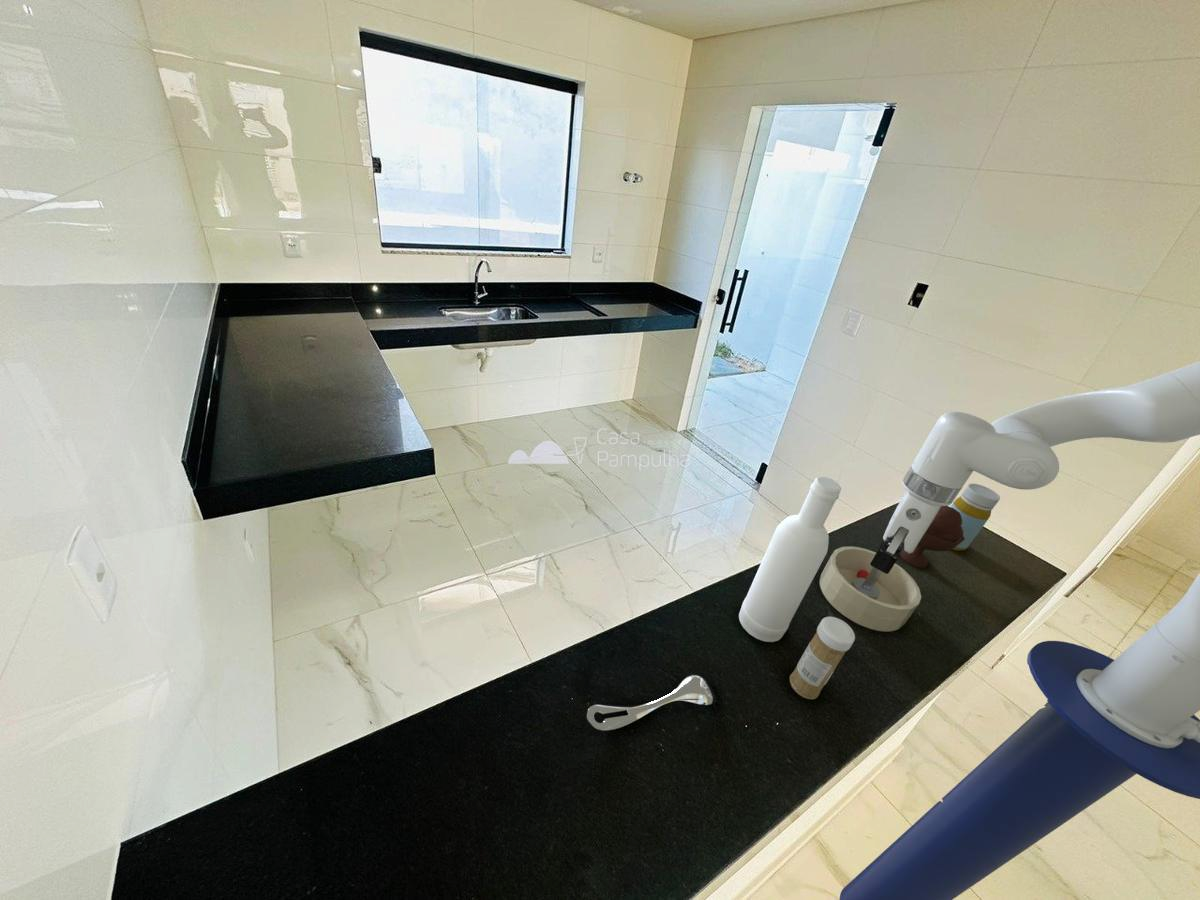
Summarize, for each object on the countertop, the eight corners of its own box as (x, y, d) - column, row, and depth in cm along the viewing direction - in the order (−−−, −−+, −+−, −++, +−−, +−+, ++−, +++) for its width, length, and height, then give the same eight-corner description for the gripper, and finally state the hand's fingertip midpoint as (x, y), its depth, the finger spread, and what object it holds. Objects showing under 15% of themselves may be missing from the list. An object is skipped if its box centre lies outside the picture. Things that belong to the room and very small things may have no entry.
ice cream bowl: (948, 566, 102) (987, 513, 95) (926, 583, 96) (966, 528, 88) (901, 536, 109) (933, 485, 102) (878, 550, 103) (910, 497, 96)
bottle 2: (967, 543, 111) (1004, 493, 103) (963, 556, 106) (1001, 505, 98) (935, 528, 114) (968, 478, 107) (929, 540, 110) (963, 489, 102)
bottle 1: (756, 648, 76) (828, 503, 61) (729, 610, 82) (788, 470, 67) (793, 637, 79) (870, 496, 64) (764, 601, 85) (828, 465, 70)
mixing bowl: (912, 601, 91) (928, 579, 88) (894, 647, 80) (911, 624, 77) (833, 557, 99) (845, 535, 96) (807, 593, 88) (819, 571, 85)
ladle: (877, 594, 90) (909, 544, 83) (873, 608, 86) (906, 557, 80) (851, 580, 92) (881, 531, 85) (846, 594, 88) (877, 543, 82)
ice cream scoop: (595, 727, 57) (584, 692, 61) (589, 743, 59) (579, 707, 62) (727, 695, 65) (710, 665, 68) (719, 710, 66) (703, 680, 70)
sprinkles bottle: (825, 694, 70) (863, 637, 63) (803, 704, 68) (841, 646, 61) (802, 668, 74) (836, 611, 67) (781, 677, 72) (814, 619, 65)
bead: (874, 577, 92) (869, 567, 92) (869, 585, 91) (864, 575, 90) (862, 576, 94) (857, 567, 94) (857, 584, 93) (852, 574, 92)
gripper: (949, 515, 69) (892, 600, 78) (962, 479, 79) (911, 558, 89) (895, 490, 73) (847, 574, 82) (915, 460, 83) (870, 537, 93)
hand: (880, 565), depth 85 cm, fingers closed on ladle
